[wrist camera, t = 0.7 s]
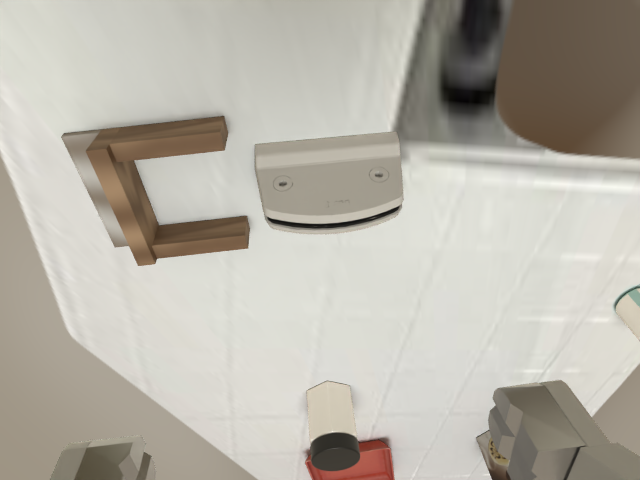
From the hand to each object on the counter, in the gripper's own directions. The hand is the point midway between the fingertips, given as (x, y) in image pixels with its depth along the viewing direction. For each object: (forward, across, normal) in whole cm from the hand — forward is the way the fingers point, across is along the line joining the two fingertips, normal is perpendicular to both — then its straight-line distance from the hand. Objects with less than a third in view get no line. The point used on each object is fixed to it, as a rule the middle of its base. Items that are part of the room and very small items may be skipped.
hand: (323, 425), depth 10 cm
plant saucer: (+50, -7, +84) cm, 98 cm away
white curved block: (+42, -4, +11) cm, 43 cm away
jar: (+47, -3, +57) cm, 74 cm away
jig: (+42, +15, +11) cm, 46 cm away
